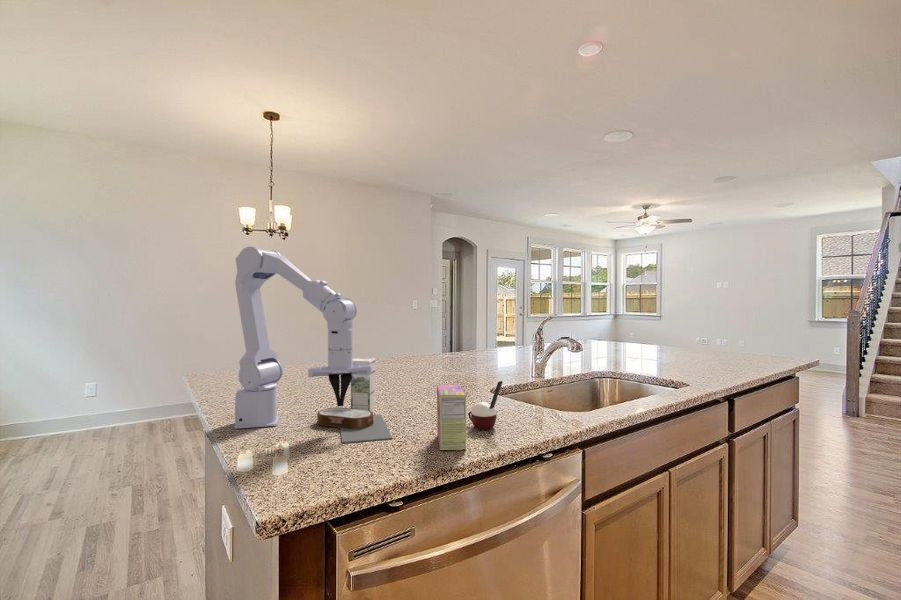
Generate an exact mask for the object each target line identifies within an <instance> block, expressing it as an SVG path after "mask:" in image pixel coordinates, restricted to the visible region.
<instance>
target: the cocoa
mask: <svg viewBox="0 0 901 600" xmlns="http://www.w3.org/2000/svg"><path fill="white" fill-rule="evenodd" d="M502 384H503V380H500V381H497V384H496V387H495V391H494V394H493V395H492V400H491V402H490V403H488V402H485V401H480V402H478V403H475V404H473V406H472V407H471V411H469V412H468V414H467V415H468V418H469V420H470V421H471V422H472V425H473V427H474V428H476V429H477V428H478V429H477V430H479V429H483V430H482V431H488V430H487V429H489V430H491V429H493V428H494V427H495V424H496V423H497V412H498V409H496V407H495V406H496V403H497V400H498V396H499V393H500V390H501V388H502V386H503V385H502Z"/></svg>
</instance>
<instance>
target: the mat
mask: <svg viewBox="0 0 901 600" xmlns="http://www.w3.org/2000/svg"><path fill="white" fill-rule="evenodd" d="M373 422H374V424H373V425H371V426H369V427H365V428H359V429H348V428H339V430H340V435H341V436H340V437H341V438H340V439H341V443H342V444H352V443H361V442H375V441H387V440H393V436H392V434H391V432H390V430H389V429H388V426H387V424H386V421H385V420H384V418H383V416H382V414H373Z"/></svg>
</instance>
